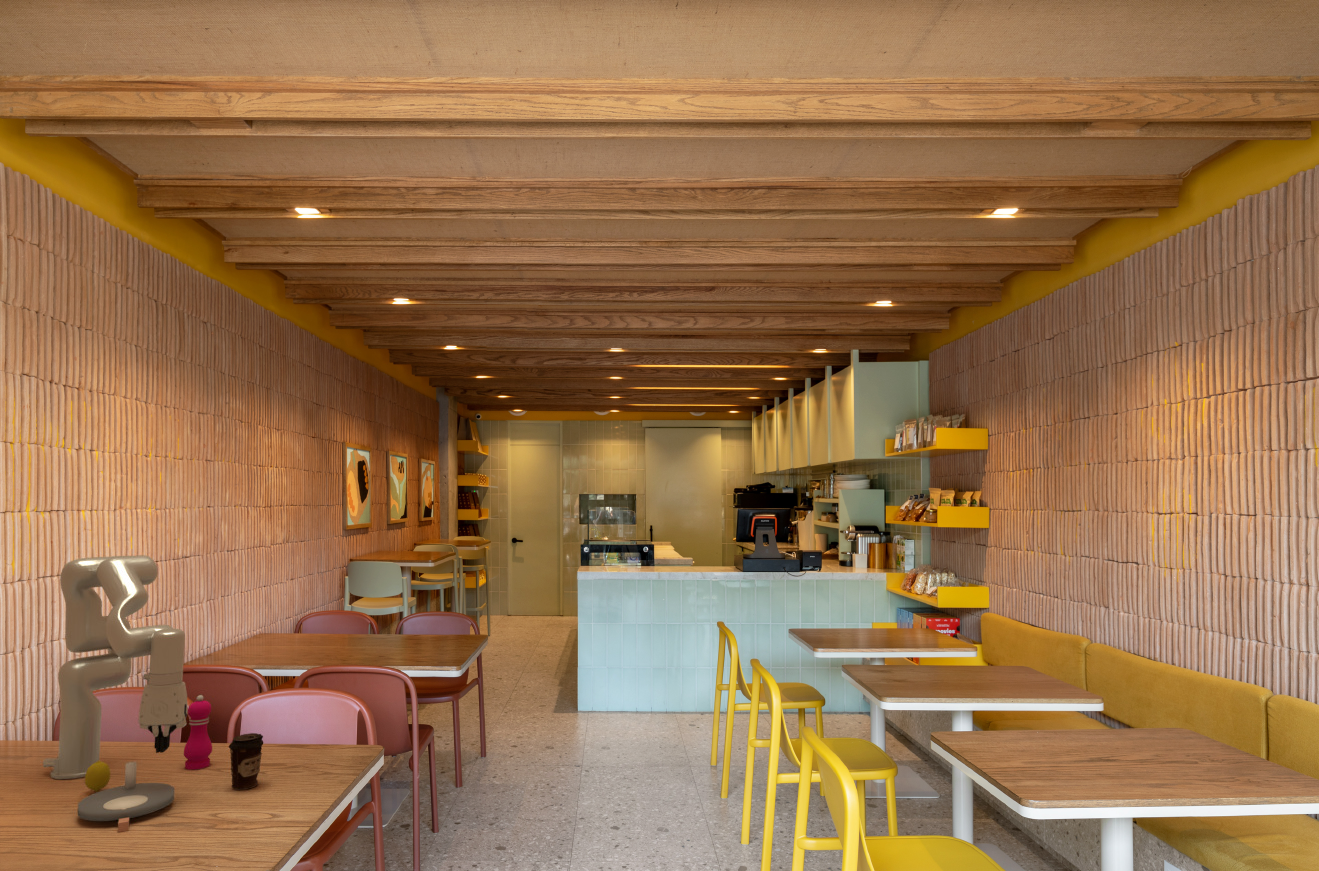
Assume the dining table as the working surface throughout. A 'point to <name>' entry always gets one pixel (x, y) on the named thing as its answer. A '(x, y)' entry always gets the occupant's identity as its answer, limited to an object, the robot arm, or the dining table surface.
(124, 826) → the pink rectangular block
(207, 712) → the pepper mill
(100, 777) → the lemon
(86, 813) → the turntable
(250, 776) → the coffee cup
